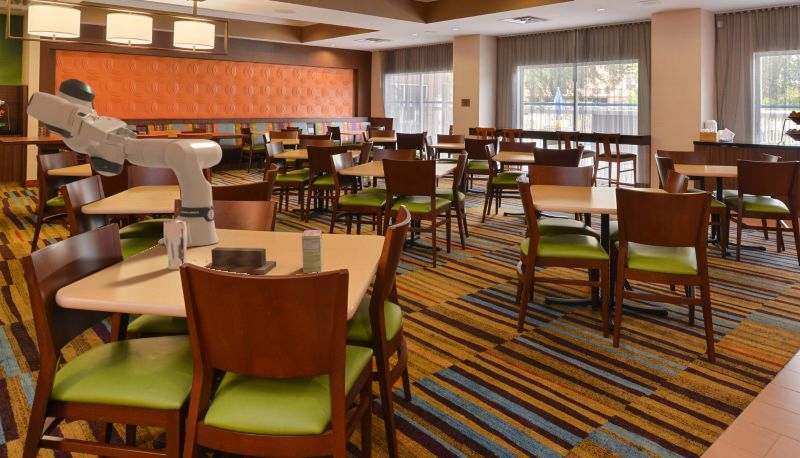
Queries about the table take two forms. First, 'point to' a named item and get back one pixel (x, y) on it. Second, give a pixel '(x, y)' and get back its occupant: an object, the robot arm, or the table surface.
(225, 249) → the ridge
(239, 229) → the table surface
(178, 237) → the beer glass
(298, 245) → the table surface
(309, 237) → the box
